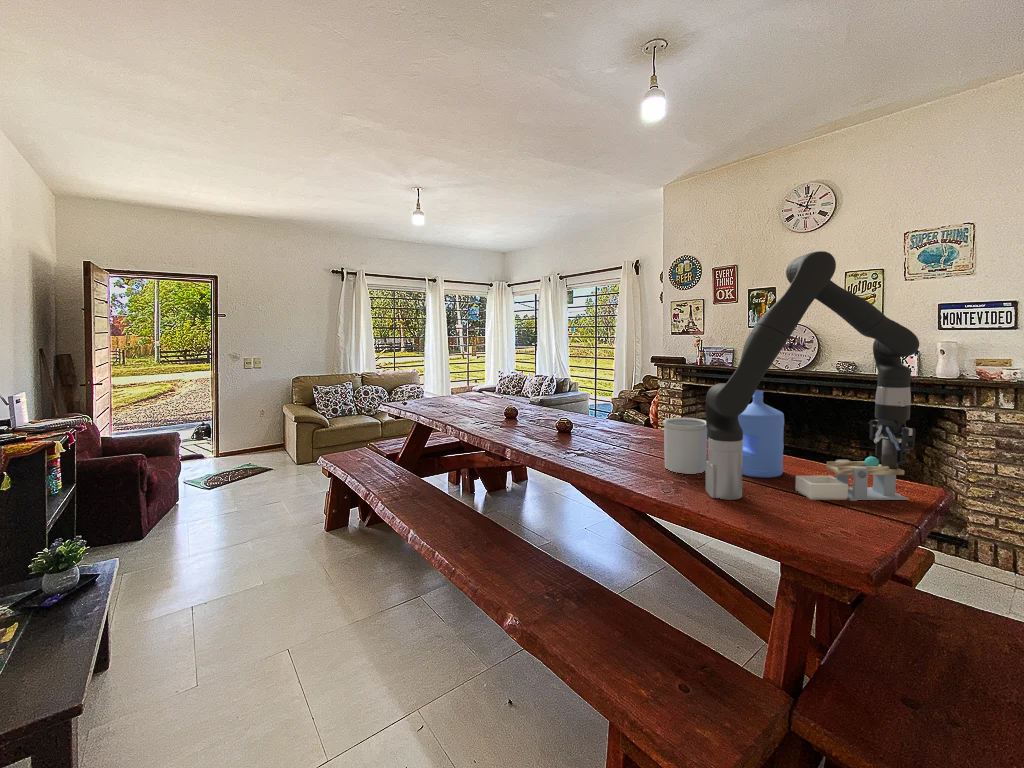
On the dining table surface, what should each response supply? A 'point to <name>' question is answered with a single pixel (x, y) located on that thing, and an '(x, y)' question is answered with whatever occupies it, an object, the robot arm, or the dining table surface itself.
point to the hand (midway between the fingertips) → (889, 459)
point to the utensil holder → (685, 445)
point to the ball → (871, 461)
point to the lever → (884, 468)
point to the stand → (879, 491)
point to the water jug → (762, 439)
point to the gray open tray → (821, 488)
